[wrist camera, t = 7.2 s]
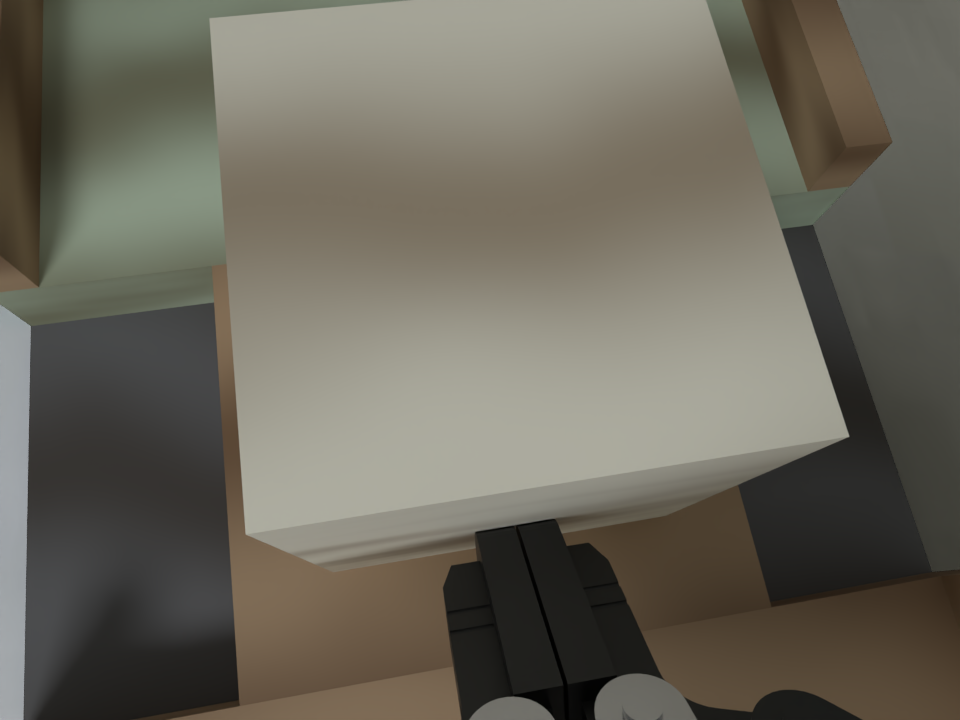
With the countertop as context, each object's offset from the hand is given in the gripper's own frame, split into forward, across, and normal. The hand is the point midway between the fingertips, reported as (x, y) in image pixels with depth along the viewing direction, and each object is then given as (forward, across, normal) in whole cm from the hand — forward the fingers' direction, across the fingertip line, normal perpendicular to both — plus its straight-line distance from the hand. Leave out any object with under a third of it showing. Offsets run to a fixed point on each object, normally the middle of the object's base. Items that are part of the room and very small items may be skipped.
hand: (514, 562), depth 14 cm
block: (+5, 0, -1) cm, 5 cm away
